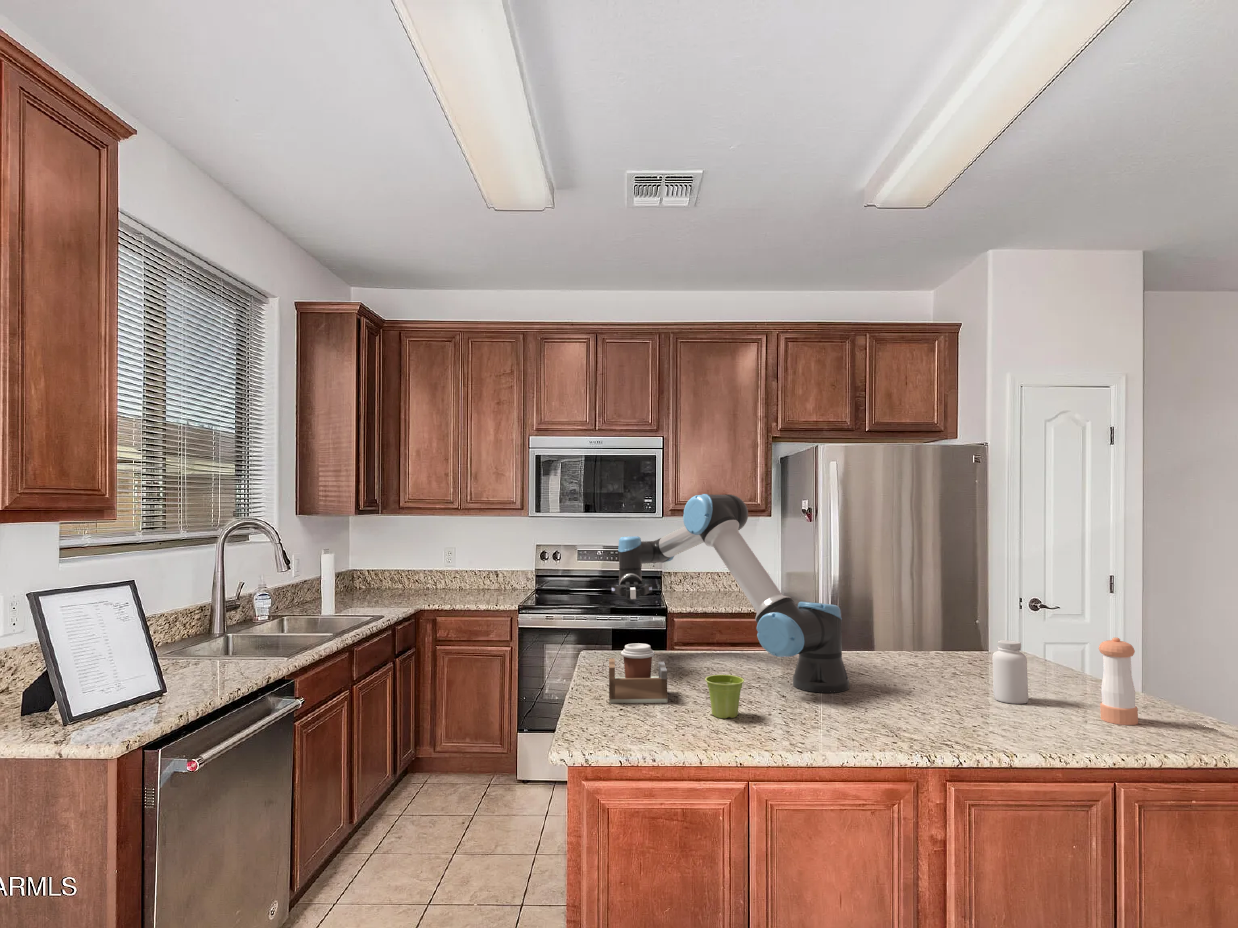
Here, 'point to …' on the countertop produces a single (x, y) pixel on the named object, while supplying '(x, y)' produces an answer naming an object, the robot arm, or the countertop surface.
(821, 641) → the robot arm
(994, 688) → the pill bottle
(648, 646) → the coffee cup
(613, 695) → the shelf
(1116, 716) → the pepper shaker
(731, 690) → the plant pot
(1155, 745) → the countertop surface
